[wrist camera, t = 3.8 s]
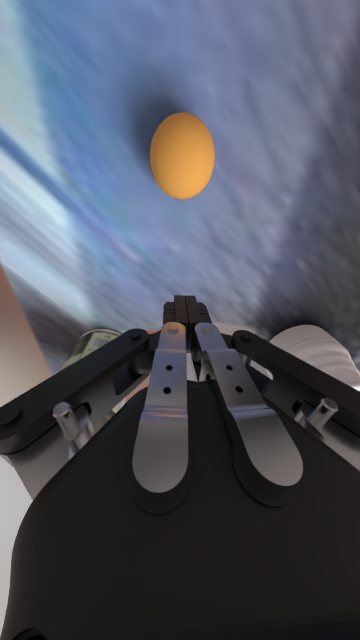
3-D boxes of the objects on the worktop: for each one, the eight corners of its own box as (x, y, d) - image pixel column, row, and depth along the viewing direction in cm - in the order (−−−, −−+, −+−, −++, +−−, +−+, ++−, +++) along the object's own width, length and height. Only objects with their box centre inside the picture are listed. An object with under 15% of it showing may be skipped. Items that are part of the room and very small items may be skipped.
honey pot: (339, 346, 36) (458, 450, 22) (283, 380, 42) (347, 483, 27) (307, 312, 31) (433, 416, 16) (248, 355, 37) (303, 465, 22)
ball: (151, 122, 18) (144, 94, 13) (212, 128, 18) (228, 102, 13) (153, 196, 21) (148, 197, 16) (204, 200, 22) (215, 201, 17)
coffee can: (90, 372, 37) (54, 454, 25) (67, 331, 31) (6, 413, 19) (141, 366, 37) (128, 446, 25) (127, 324, 31) (102, 402, 19)
